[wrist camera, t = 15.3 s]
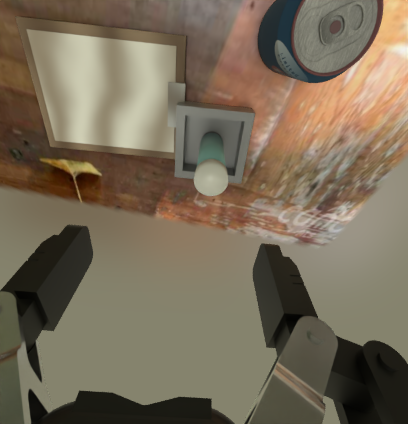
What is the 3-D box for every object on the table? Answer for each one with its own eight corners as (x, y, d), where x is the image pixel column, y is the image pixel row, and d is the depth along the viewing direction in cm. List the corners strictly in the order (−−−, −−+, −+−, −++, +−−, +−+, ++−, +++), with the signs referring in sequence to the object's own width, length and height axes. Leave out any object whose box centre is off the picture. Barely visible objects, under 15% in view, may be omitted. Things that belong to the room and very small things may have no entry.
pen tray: (177, 167, 35) (174, 176, 32) (179, 100, 30) (176, 105, 27) (238, 173, 35) (241, 183, 32) (251, 108, 30) (255, 113, 27)
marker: (200, 128, 31) (195, 163, 21) (225, 131, 31) (230, 167, 21) (198, 152, 33) (192, 194, 23) (222, 154, 33) (225, 197, 23)
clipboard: (53, 145, 33) (48, 148, 32) (18, 16, 25) (10, 15, 24) (182, 158, 34) (181, 161, 33) (188, 36, 26) (187, 35, 25)
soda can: (265, 83, 28) (293, 101, 18) (248, 14, 25) (272, -12, 15) (325, 57, 27) (393, 60, 17) (317, -22, 23) (396, -77, 13)
